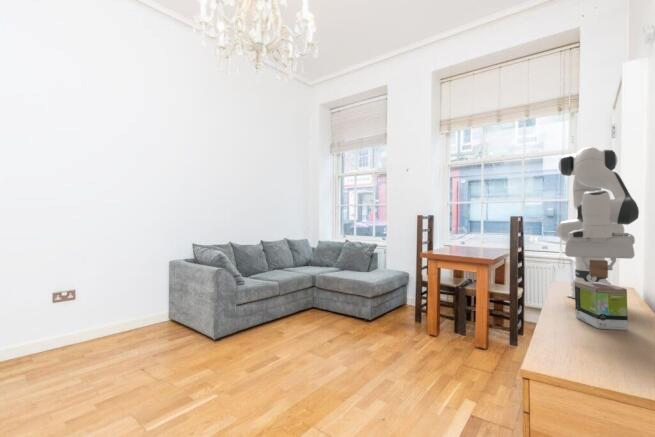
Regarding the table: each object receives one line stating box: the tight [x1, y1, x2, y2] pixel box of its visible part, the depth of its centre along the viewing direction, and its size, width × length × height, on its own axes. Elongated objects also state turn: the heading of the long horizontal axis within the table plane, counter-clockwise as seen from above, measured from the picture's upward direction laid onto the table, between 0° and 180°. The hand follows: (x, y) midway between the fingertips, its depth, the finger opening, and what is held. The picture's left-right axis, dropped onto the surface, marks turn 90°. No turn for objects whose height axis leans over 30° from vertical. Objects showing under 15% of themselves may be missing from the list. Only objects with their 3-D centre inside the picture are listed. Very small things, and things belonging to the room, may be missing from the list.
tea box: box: [574, 282, 629, 331], centre depth 124 cm, size 15×10×15 cm
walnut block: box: [589, 259, 609, 279], centre depth 124 cm, size 5×5×6 cm
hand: (598, 269), depth 124 cm, fingers closed on walnut block, 5 cm apart
